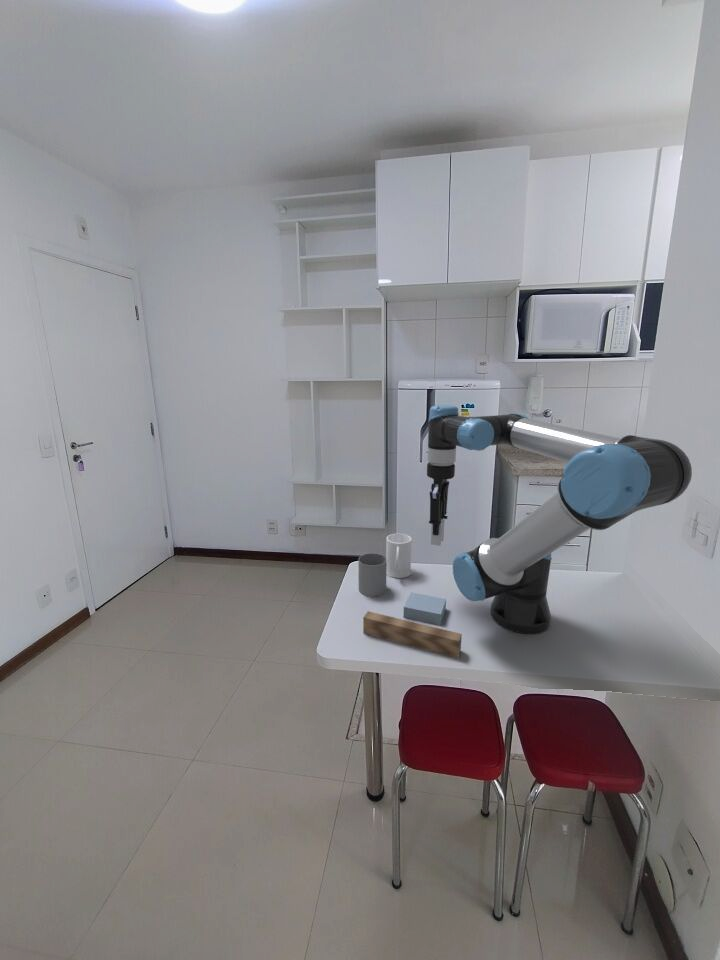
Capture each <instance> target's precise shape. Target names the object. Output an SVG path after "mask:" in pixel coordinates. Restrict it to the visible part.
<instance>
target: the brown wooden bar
mask: <svg viewBox="0 0 720 960" xmlns="http://www.w3.org/2000/svg"><path fill="white" fill-rule="evenodd" d="M362 618H363V621H362V622H363V630H362V631H363V632H362V633H363V634H366V635H369V636H373V637H378V638H382V639H385V640H390V641H393V642H397V643H400V644H404V645H408V646H412V647H416V648H419V649H422V650H427V651H431V652H434V653H438V654H442V655H446V656H449V657H454V658H457V659H458V658H459V657H460V653H461V649H462V639H463V638H462V635H463V634H462V633H460V632H456V631H451V630H447V629H444V628H439V627H435V626H431V625H428V624H427V625H426V624H422V623H418V622H414V621H410V620H406V619H402V618H397V617H393V616H389V615H385V614H381V613H377V612H374V611H373V612H372V611H368V610H367V612H366V613H365V614H364V616H363V617H362Z"/></svg>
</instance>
